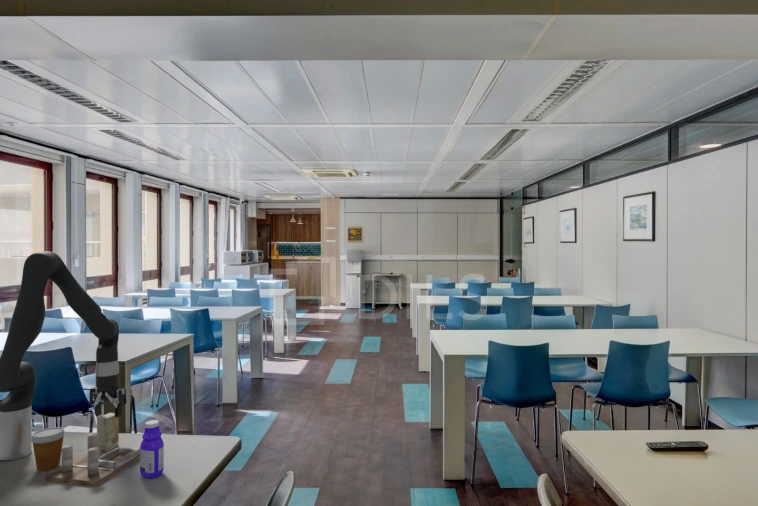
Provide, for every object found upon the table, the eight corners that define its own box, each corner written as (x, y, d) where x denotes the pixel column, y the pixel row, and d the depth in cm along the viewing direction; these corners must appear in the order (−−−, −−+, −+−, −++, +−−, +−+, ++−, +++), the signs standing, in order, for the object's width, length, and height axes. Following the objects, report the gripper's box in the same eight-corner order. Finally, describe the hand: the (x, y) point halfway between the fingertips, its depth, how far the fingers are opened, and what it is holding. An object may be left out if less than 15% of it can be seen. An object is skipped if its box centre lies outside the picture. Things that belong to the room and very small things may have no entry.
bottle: (167, 472, 148) (167, 420, 148) (153, 480, 143) (153, 426, 143) (150, 469, 151) (150, 417, 151) (136, 477, 145) (136, 423, 145)
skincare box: (106, 452, 164) (106, 418, 164) (96, 451, 165) (95, 418, 165) (119, 444, 171) (119, 412, 171) (109, 444, 171) (109, 412, 172)
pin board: (43, 480, 144) (43, 450, 144) (94, 453, 163) (94, 427, 163) (95, 486, 139) (95, 456, 140) (142, 458, 159) (142, 431, 159)
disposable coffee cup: (71, 463, 155) (71, 429, 155) (41, 476, 147) (41, 439, 147) (55, 458, 159) (54, 424, 159) (24, 470, 151) (24, 434, 151)
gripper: (83, 375, 166) (83, 418, 166) (115, 376, 163) (116, 421, 162) (99, 369, 173) (100, 411, 173) (131, 371, 170) (132, 413, 170)
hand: (108, 416), depth 168 cm, fingers open, 8 cm apart
